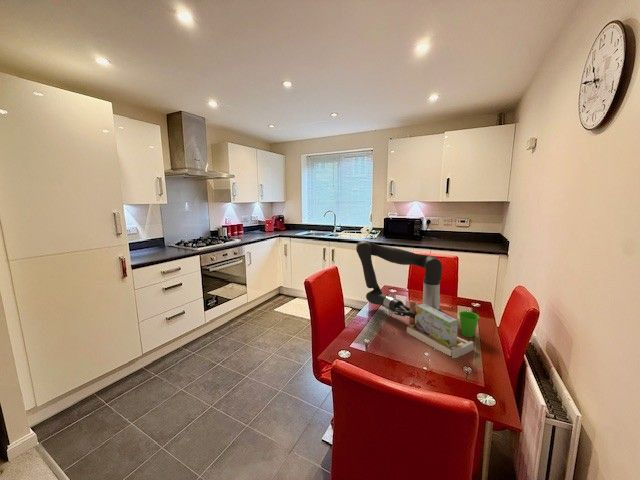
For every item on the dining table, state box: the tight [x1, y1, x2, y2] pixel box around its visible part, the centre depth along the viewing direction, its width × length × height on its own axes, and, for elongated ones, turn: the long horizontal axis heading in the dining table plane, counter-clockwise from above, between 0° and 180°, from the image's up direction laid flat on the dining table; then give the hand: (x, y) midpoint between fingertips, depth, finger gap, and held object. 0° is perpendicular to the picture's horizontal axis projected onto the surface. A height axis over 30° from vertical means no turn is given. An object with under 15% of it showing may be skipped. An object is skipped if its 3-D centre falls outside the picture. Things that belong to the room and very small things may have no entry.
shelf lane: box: [406, 327, 474, 359], centre depth 130 cm, size 14×27×4 cm, turn 29°
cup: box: [458, 310, 480, 338], centre depth 134 cm, size 9×9×11 cm
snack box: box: [415, 302, 459, 348], centre depth 130 cm, size 21×6×15 cm, turn 23°
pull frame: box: [406, 301, 465, 350], centre depth 132 cm, size 10×28×14 cm, turn 29°
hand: (416, 315), depth 140 cm, fingers closed on pull frame, 3 cm apart
